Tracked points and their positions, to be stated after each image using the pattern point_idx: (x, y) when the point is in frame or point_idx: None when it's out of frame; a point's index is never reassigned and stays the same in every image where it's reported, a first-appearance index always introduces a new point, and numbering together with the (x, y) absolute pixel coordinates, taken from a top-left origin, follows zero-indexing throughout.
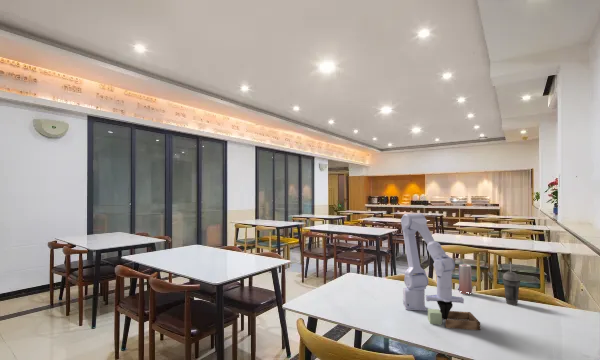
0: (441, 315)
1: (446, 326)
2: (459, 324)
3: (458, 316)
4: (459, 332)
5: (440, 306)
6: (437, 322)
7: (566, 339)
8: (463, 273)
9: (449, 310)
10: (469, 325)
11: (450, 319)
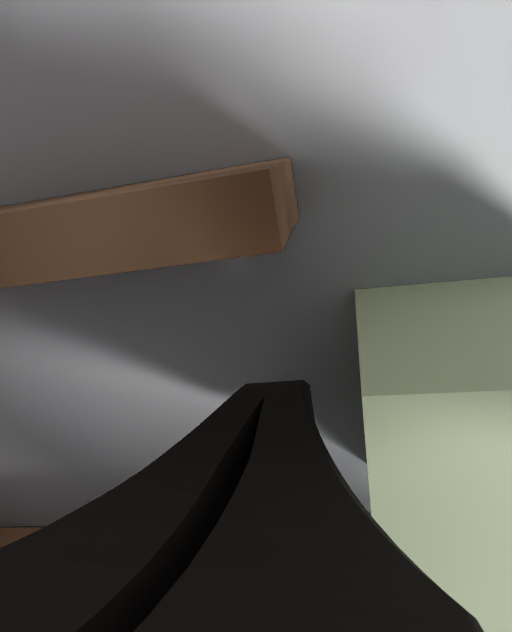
0: (365, 371)
1: (284, 161)
2: (18, 207)
3: None
4: (66, 12)
5: (443, 595)
6: (443, 294)
7: None
8: None
9: (98, 502)
10: None
11: (159, 261)
